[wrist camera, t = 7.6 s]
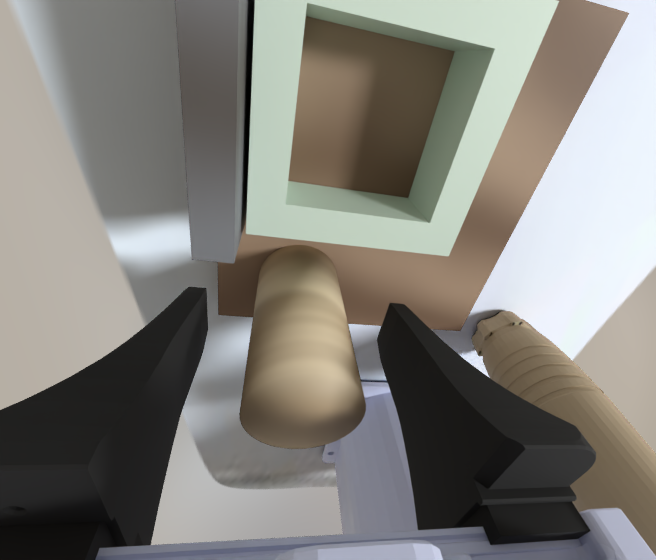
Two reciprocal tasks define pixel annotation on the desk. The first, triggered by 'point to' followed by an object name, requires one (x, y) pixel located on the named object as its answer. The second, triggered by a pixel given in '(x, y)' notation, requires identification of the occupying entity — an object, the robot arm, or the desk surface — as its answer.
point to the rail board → (368, 148)
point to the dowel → (300, 355)
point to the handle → (575, 417)
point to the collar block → (444, 136)
